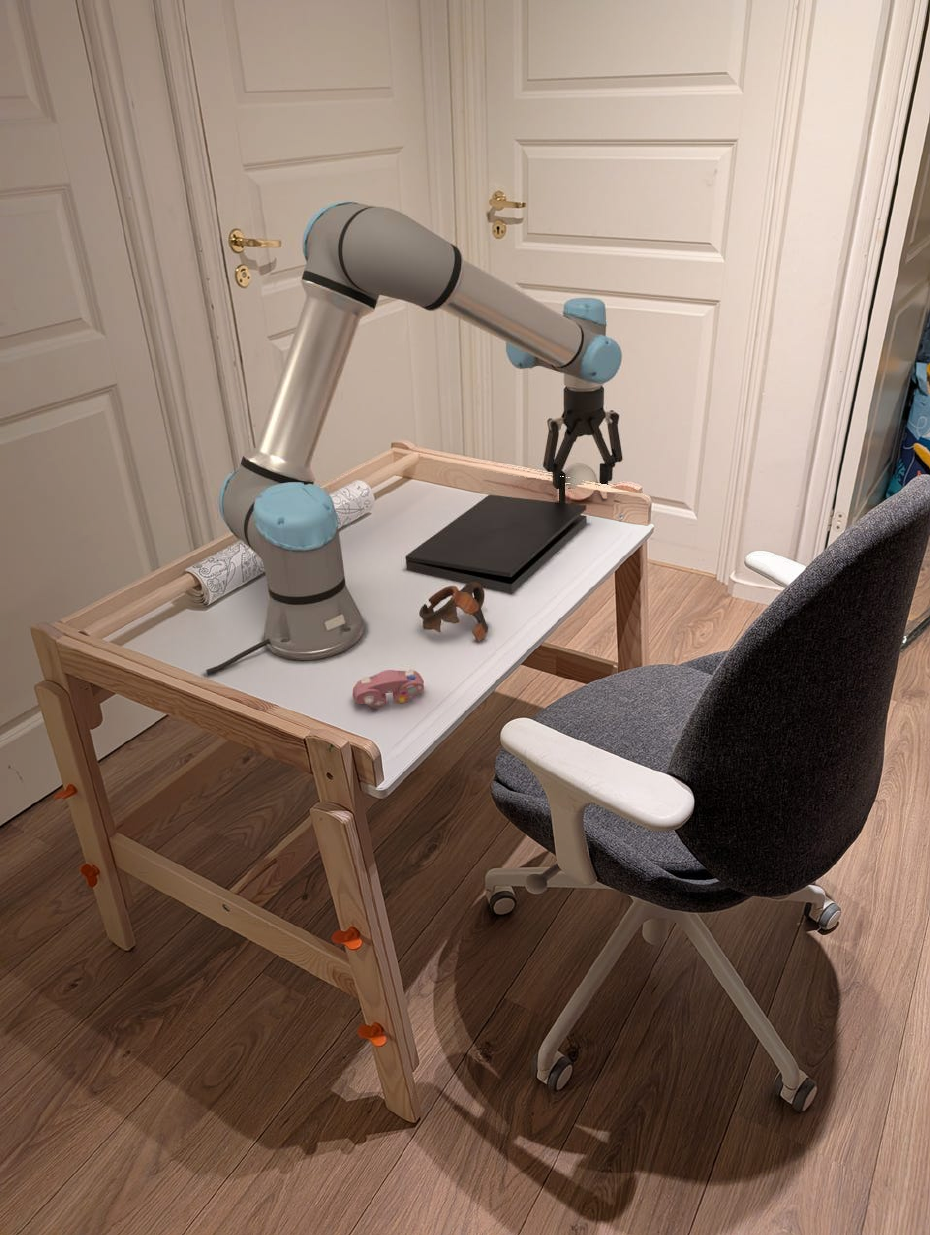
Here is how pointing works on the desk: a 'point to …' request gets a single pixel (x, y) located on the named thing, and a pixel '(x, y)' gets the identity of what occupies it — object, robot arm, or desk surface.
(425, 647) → the desk surface
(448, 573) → the laptop
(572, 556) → the desk surface
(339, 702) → the desk surface
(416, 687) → the video game controller
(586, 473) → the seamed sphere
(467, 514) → the laptop screen
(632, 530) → the desk surface
